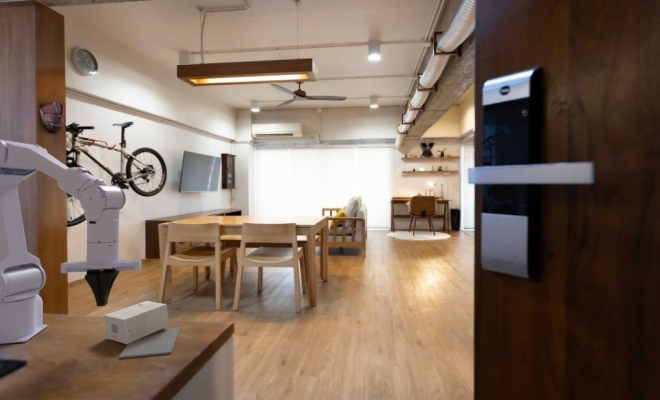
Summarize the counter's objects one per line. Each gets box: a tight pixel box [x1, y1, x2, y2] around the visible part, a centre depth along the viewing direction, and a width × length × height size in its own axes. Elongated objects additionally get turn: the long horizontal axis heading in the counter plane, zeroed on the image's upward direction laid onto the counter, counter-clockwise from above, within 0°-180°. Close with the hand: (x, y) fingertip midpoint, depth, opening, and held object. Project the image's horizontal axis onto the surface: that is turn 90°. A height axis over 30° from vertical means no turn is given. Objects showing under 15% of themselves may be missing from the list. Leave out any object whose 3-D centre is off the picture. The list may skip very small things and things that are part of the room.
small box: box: [103, 300, 170, 345], centre depth 81 cm, size 8×6×10 cm
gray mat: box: [118, 326, 181, 360], centre depth 77 cm, size 14×10×1 cm
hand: (102, 305), depth 74 cm, fingers closed
